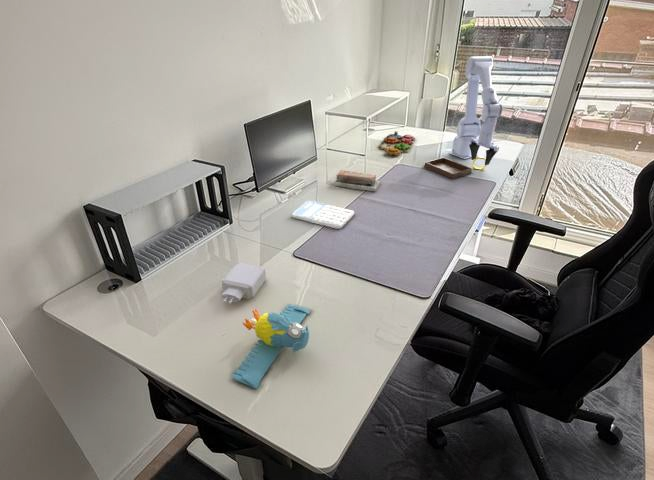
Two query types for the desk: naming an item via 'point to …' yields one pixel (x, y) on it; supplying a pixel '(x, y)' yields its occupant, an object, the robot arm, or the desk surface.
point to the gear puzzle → (397, 143)
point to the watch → (479, 158)
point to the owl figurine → (272, 341)
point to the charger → (242, 282)
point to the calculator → (323, 214)
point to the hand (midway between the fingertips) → (479, 162)
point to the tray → (448, 167)
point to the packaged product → (357, 180)
